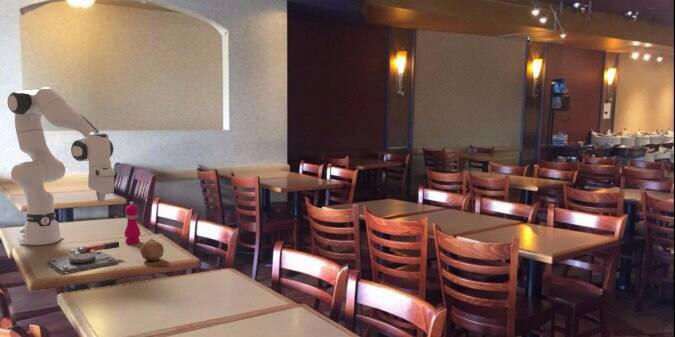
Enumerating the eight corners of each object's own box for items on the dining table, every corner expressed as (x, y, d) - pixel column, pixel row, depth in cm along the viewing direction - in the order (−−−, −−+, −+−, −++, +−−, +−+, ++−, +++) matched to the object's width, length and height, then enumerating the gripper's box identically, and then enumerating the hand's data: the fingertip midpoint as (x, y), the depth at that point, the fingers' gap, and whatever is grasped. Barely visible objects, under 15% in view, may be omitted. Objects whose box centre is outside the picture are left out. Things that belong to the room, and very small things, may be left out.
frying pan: (74, 264, 227) (73, 252, 226) (65, 259, 234) (65, 247, 233) (122, 255, 240) (122, 244, 240) (113, 250, 248) (113, 239, 247)
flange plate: (47, 263, 233) (47, 258, 233) (101, 254, 248) (101, 249, 248) (61, 274, 220) (61, 268, 220) (117, 263, 235) (117, 258, 235)
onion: (149, 265, 244) (148, 242, 247) (168, 261, 241) (167, 238, 245) (136, 263, 235) (135, 239, 238) (155, 258, 233) (154, 235, 236)
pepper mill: (135, 245, 265) (134, 203, 262) (121, 243, 266) (120, 202, 263) (143, 241, 272) (142, 200, 269) (130, 240, 273) (128, 199, 271)
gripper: (83, 168, 247) (84, 198, 249) (101, 173, 232) (102, 205, 234) (98, 167, 251) (99, 197, 253) (116, 171, 237) (117, 204, 238)
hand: (101, 201), depth 243 cm, fingers closed
